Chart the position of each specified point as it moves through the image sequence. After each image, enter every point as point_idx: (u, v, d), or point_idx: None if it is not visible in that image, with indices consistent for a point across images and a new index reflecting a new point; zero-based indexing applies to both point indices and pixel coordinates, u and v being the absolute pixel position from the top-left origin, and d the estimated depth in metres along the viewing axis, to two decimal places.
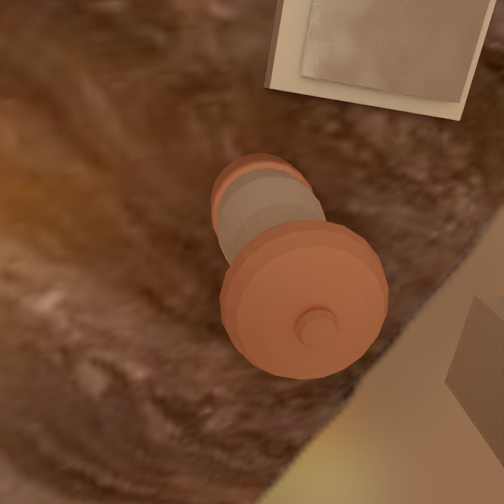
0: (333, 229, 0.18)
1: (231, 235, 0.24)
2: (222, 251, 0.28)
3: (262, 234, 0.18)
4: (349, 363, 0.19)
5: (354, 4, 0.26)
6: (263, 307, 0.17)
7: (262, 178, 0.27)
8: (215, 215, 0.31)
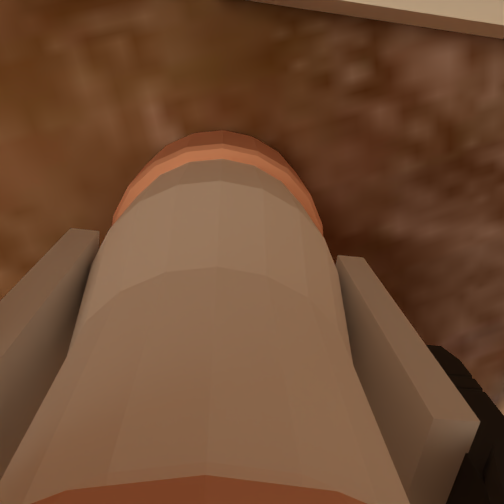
0: None
1: None
2: None
3: None
4: None
5: None
6: None
7: (180, 186, 0.11)
8: None
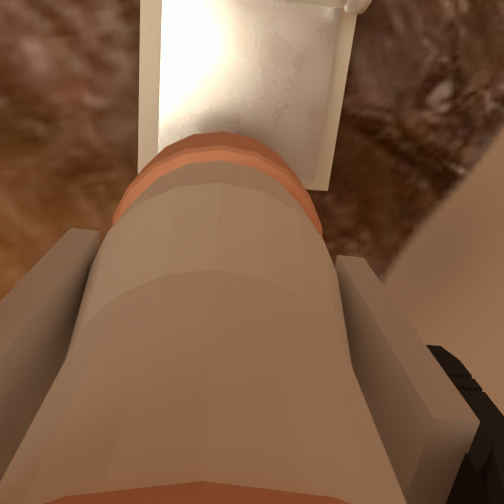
0: None
1: None
2: None
3: None
4: None
5: (196, 102, 0.27)
6: None
7: (179, 188, 0.11)
8: None
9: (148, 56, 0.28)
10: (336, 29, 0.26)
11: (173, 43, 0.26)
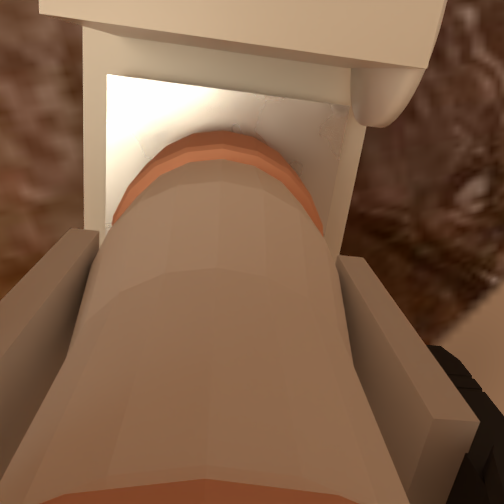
0: None
1: None
2: None
3: None
4: None
5: None
6: None
7: (180, 186, 0.11)
8: None
9: (94, 154, 0.21)
10: (342, 132, 0.20)
11: (122, 147, 0.19)
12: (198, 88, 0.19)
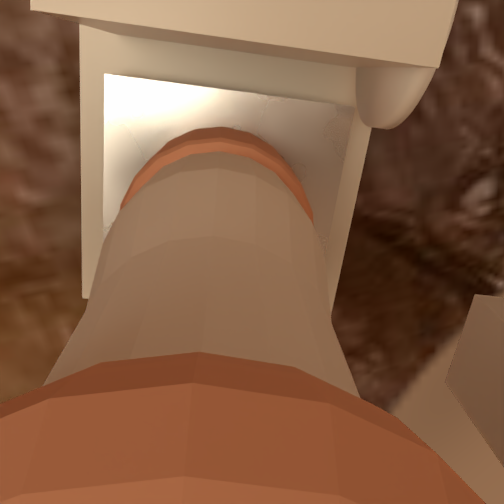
0: (270, 456, 0.03)
1: None
2: None
3: None
4: None
5: None
6: None
7: (181, 173, 0.12)
8: None
9: (92, 155, 0.21)
10: (347, 134, 0.19)
11: (120, 149, 0.19)
12: (198, 88, 0.18)
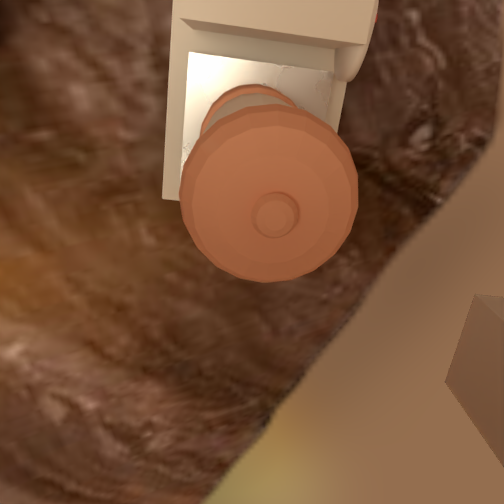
0: (293, 112, 0.16)
1: None
2: None
3: (218, 120, 0.17)
4: (317, 262, 0.18)
5: None
6: (217, 194, 0.16)
7: (243, 96, 0.25)
8: None
9: (174, 104, 0.34)
10: (329, 88, 0.32)
11: (195, 97, 0.32)
12: (242, 60, 0.31)
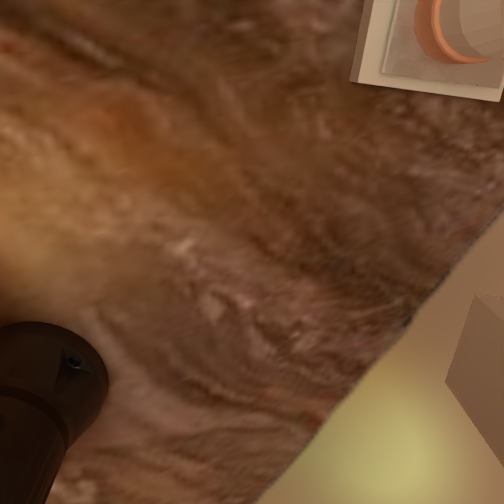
0: None
1: None
2: (462, 25, 0.30)
3: None
4: None
5: None
6: None
7: None
8: (436, 9, 0.33)
9: None
10: None
11: None
12: None
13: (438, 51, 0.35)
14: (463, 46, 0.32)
